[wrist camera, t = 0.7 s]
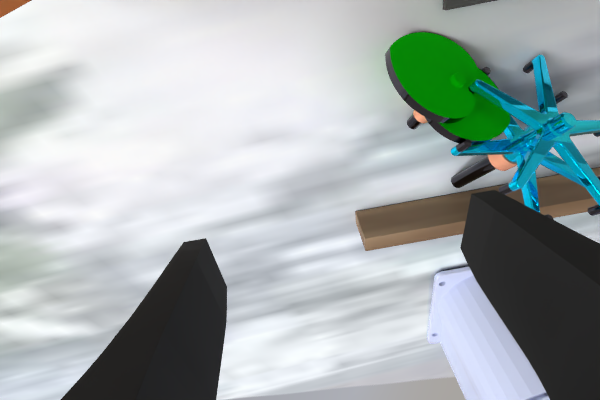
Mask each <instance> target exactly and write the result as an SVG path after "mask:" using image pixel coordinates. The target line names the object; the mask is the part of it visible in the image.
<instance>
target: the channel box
mask: <svg viewBox="0 0 600 400" xmlns="http://www.w3.org/2000/svg"><path fill="white" fill-rule="evenodd" d="M592 171H593V172H594V174H595V175H596V176H600V167H599V168H593V169H592ZM536 181H537V189H538V198H539V207H540V213H541V214H543V215H547V214H549V215H551V216H552V217H553V218H555V217H560V216H566V215H571V214H577V213H583V212H588V211H587V210H588V207H591V206H595V205H598V203H597V202H596V201H595V200H594V198H593V197H592V196H591V194H590V193H589V192H588V191H587V189H586V188H585V187H583V186H581V185H579V184H577V183H575V182H574V181H572V180H570V179H568V178H566V177H564V176H562V175H554V176H549V177H543V178H538V179H536ZM501 186H503V185H499V186H493V187H488V188H482V189H477V190H471V191H466V192H460V193H455V194H449V195H444V196H438V197H433V198H427V199H421V200H416V201H410V202H405V203H399V204H394V205H388V206H383V207H377V208H372V209H366V210H361V211H355V214H356V224H357V227H358V230H359V233H360V236H361V239H362V242H363V245H364V247H365V250H366V251H369V250H374V249H380V248H386V247H391V246H397V245H403V244H408V243H414V242H419V241H425V240H431V239H436V238H442V237H448V236H453V235H459V234H463V233H464V228H465V223H466V218H467V213H468V208H469V203H470V198H471V194H472V193H478V192H484V191H490V190H496V191H498V192H499V187H501ZM506 196H508V197H510V198H512V199H514V200H516V201H518V202H520V203H522V204H524V200H523V194H522V189H519V190H516V191H514V192H511V193H509V194H507V195H506Z"/></svg>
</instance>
